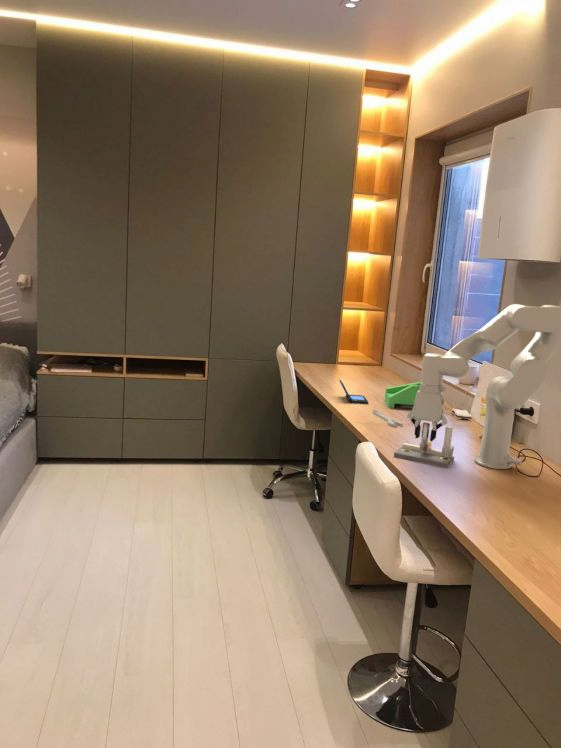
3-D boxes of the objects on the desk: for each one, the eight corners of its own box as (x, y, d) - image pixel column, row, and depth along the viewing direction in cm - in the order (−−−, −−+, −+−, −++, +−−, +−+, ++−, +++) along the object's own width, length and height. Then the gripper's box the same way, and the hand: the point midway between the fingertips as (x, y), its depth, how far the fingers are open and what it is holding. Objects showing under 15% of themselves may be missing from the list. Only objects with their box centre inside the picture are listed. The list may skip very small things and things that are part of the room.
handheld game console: (368, 405, 305) (370, 386, 303) (341, 403, 304) (342, 384, 303) (363, 397, 320) (365, 380, 319) (337, 396, 320) (339, 378, 318)
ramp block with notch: (432, 405, 314) (435, 382, 311) (438, 412, 300) (441, 387, 298) (384, 402, 314) (386, 378, 312) (388, 408, 301) (390, 384, 299)
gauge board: (453, 460, 224) (458, 425, 221) (447, 467, 215) (451, 431, 213) (402, 450, 232) (405, 416, 230) (393, 456, 224) (397, 421, 221)
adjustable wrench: (370, 413, 289) (371, 409, 289) (384, 413, 290) (384, 410, 290) (390, 427, 265) (391, 423, 264) (404, 428, 266) (405, 424, 266)
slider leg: (430, 450, 227) (434, 421, 225) (426, 454, 222) (429, 424, 220) (422, 449, 228) (425, 419, 226) (418, 452, 223) (421, 423, 221)
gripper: (457, 391, 219) (451, 441, 222) (410, 383, 226) (404, 432, 230) (452, 394, 212) (446, 446, 216) (403, 386, 220) (398, 436, 223)
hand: (424, 438), depth 223 cm, fingers open, 4 cm apart
